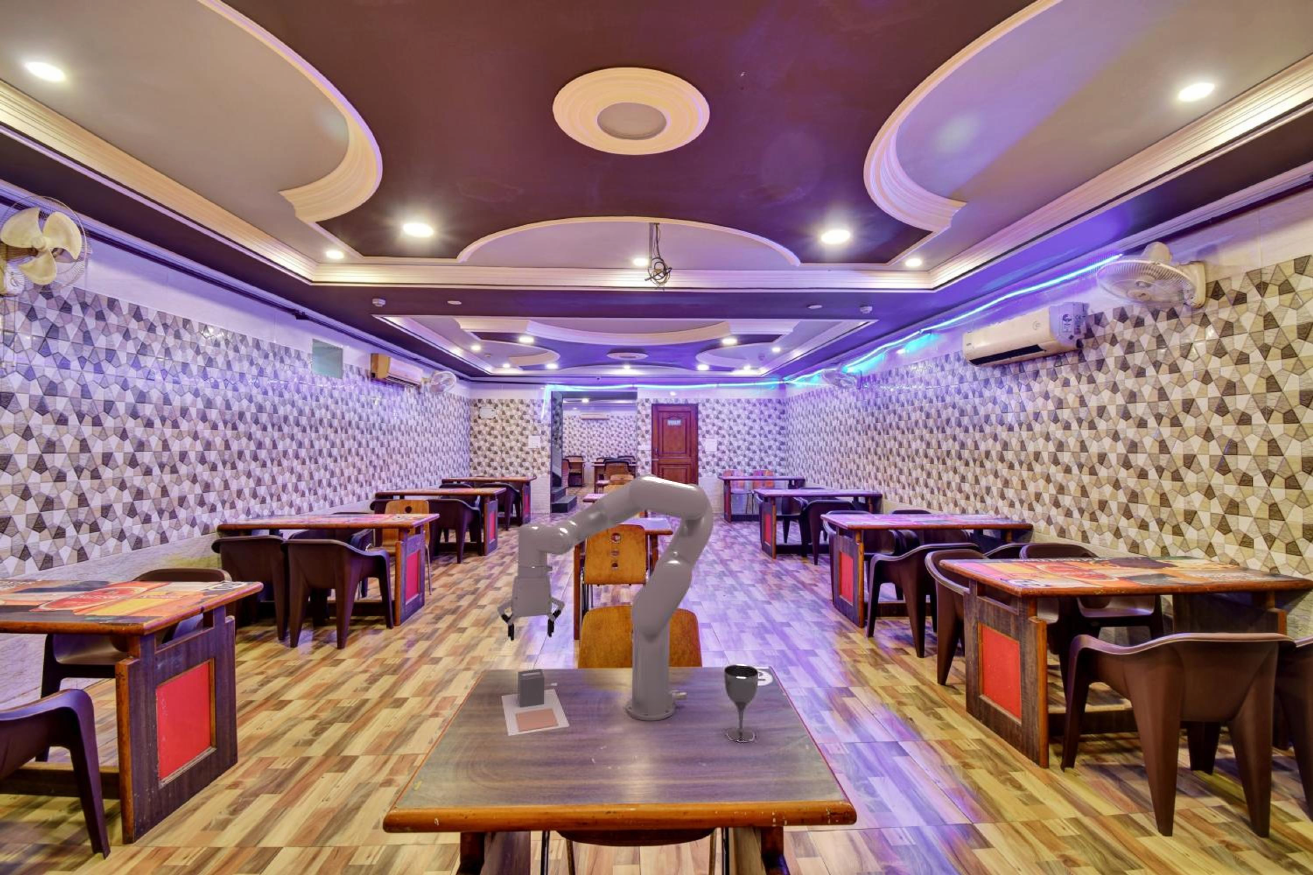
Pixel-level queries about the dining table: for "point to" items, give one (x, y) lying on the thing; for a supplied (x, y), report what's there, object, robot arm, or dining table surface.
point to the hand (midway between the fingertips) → (531, 637)
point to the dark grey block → (530, 688)
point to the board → (533, 714)
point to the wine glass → (740, 695)
